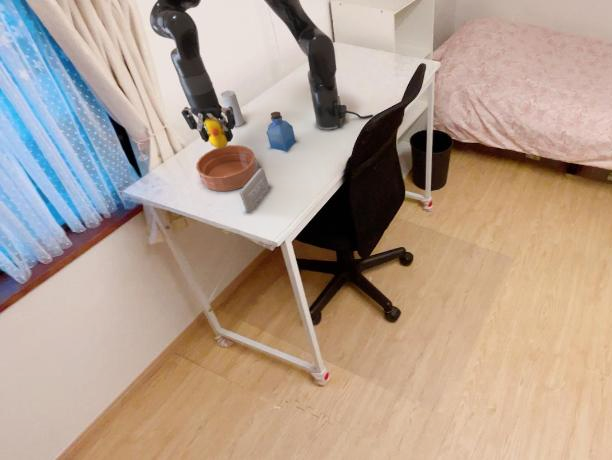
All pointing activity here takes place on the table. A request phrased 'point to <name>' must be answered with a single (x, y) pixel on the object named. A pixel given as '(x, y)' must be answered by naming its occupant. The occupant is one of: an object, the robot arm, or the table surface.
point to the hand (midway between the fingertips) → (218, 140)
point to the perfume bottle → (280, 133)
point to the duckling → (215, 133)
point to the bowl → (227, 167)
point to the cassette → (254, 190)
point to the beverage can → (233, 106)
